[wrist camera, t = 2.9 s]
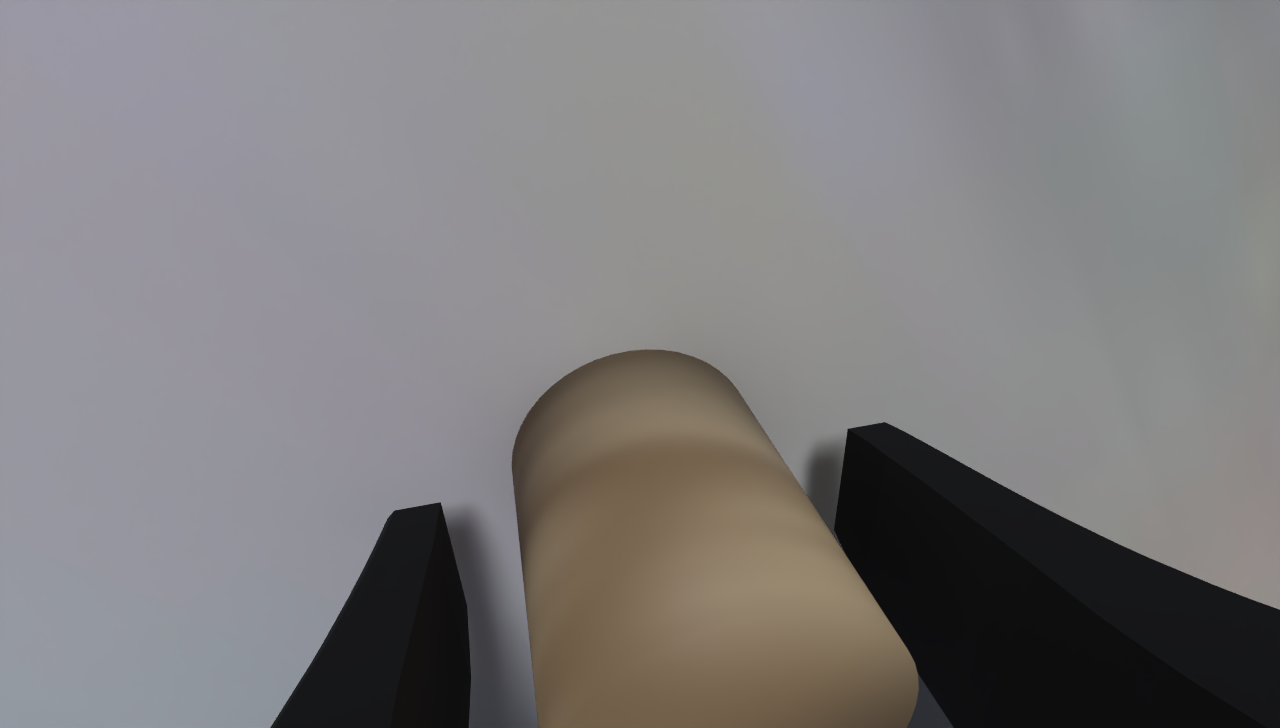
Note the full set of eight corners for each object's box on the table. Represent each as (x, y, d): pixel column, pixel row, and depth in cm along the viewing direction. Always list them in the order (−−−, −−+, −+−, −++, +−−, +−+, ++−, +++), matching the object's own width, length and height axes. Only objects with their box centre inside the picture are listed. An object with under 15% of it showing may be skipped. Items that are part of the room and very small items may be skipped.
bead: (642, 577, 13) (733, 880, 8) (460, 487, 11) (460, 822, 7) (796, 427, 12) (984, 686, 8) (626, 301, 10) (751, 552, 6)
